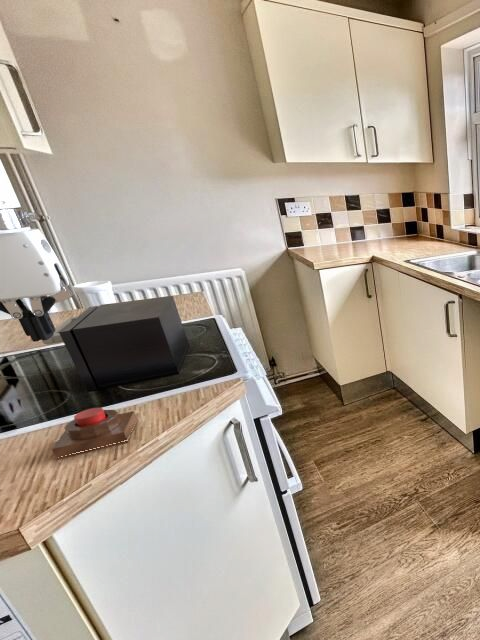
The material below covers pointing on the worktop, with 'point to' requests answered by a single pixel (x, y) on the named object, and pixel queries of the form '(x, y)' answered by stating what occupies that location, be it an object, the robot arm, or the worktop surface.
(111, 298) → the cup
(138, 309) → the oven
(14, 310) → the robot arm
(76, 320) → the oven door
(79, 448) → the block
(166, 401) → the worktop surface
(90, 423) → the button
